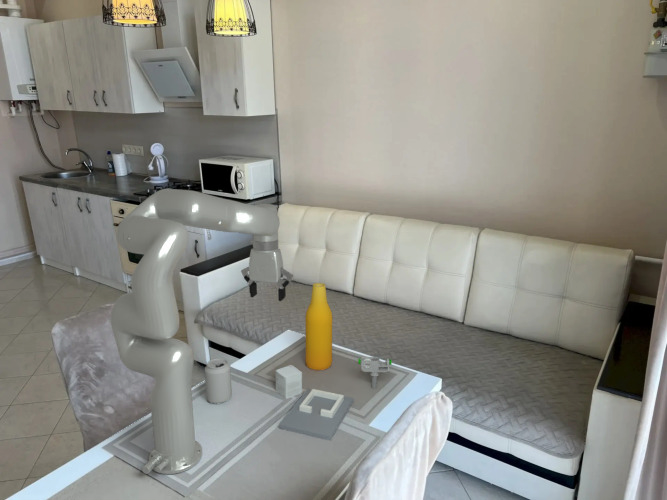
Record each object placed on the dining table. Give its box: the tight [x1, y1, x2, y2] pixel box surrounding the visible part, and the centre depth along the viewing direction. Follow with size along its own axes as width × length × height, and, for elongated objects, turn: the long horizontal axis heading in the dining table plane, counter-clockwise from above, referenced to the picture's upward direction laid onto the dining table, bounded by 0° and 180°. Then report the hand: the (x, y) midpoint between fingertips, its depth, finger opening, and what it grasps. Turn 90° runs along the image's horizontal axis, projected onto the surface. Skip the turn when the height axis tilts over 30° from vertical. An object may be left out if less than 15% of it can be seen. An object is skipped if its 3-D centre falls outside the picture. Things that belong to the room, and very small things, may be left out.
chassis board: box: [278, 388, 355, 442], centre depth 140 cm, size 20×15×3 cm
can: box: [204, 357, 233, 405], centre depth 146 cm, size 8×8×12 cm
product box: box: [275, 364, 303, 400], centre depth 151 cm, size 6×6×7 cm
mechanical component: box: [357, 356, 392, 390], centre depth 153 cm, size 3×10×10 cm, turn 89°
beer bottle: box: [304, 282, 333, 371], centre depth 165 cm, size 9×9×29 cm
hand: (267, 297), depth 153 cm, fingers open, 9 cm apart
